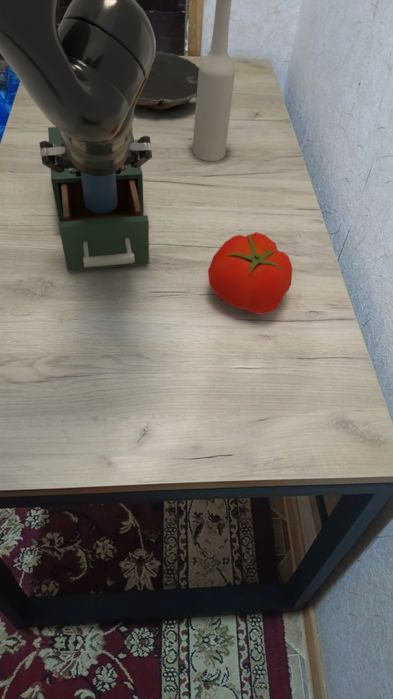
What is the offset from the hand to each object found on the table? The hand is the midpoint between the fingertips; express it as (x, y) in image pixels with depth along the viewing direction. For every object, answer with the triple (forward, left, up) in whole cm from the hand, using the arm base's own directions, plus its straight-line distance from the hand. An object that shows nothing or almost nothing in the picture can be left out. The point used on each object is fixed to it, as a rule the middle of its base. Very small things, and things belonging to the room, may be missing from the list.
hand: (97, 168), depth 70 cm
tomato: (+20, -15, -13) cm, 28 cm away
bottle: (+23, +24, -13) cm, 36 cm away
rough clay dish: (+16, +47, -13) cm, 51 cm away
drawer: (0, -3, -12) cm, 13 cm away
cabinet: (0, +10, -13) cm, 16 cm away
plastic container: (0, -2, -5) cm, 5 cm away
